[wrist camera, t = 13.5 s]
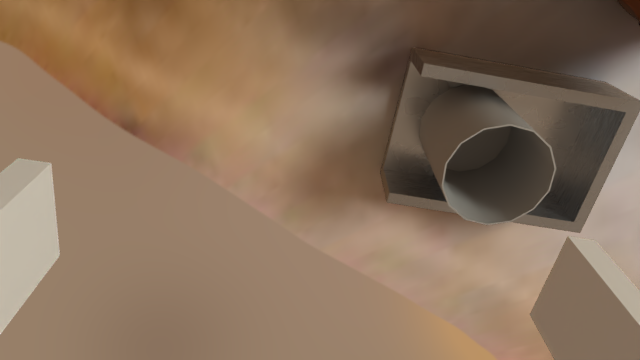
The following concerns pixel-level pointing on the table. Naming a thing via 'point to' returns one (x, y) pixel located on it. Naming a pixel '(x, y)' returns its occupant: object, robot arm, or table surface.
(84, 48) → the table surface
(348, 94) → the table surface
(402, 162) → the silver open box
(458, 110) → the cup
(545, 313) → the robot arm
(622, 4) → the case
